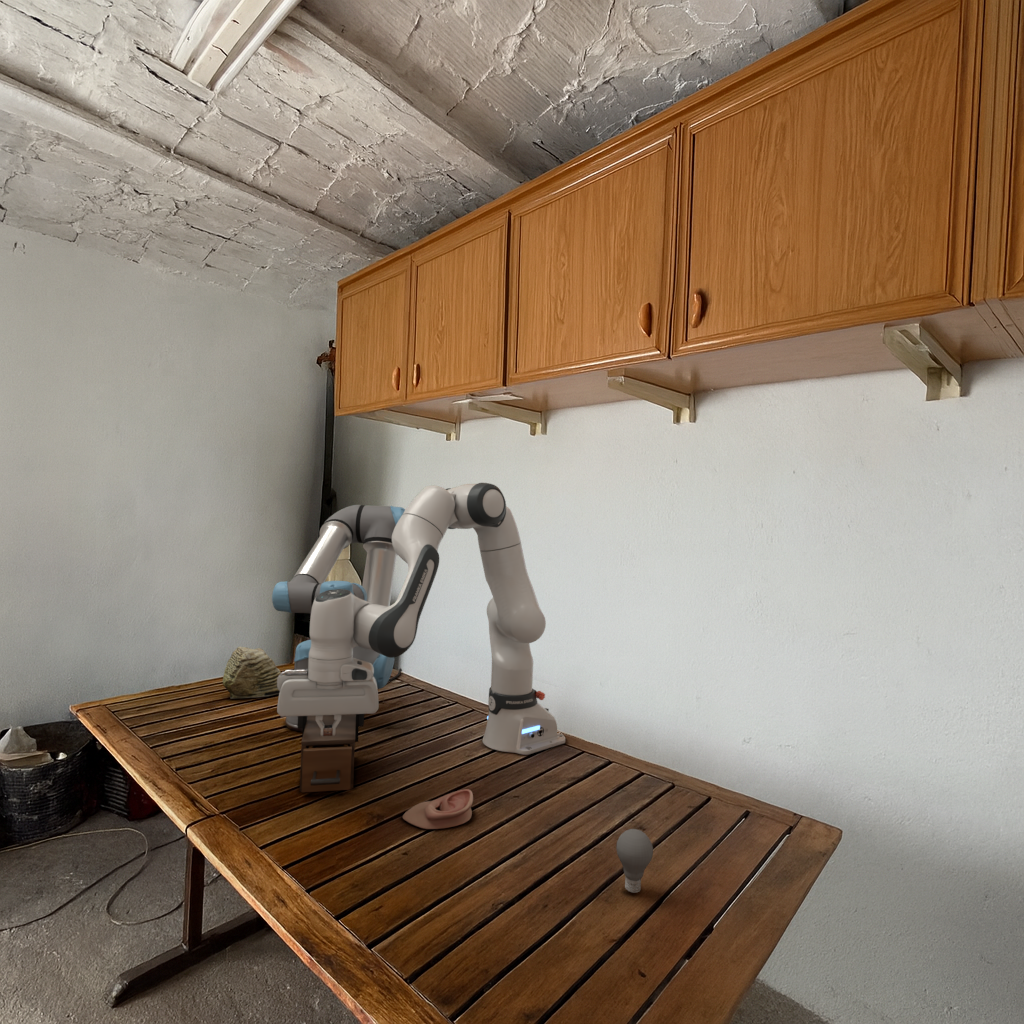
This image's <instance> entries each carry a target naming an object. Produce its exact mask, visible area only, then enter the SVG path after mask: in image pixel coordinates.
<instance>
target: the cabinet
mask: <svg viewBox="0 0 1024 1024" xmlns="http://www.w3.org/2000/svg"><path fill="white" fill-rule="evenodd" d="M322 721H323V723H324V725H333V723H334V721H335V720H334V715H323V720H322ZM355 729H356V714H346V715H341V721H340V722H339V724H338V725H337V727H336V731H335V736H321V728H320V727H319V725H318V724H317V722H316V716H308V718H307V722H306V726H305V730H304V734H303V738H302V737H301V747H300V748H301V749H300V771H299V772H300V773H299V792H300V793H302V769H303V750H304V749H309V746H313V745H336V744H348V747H352V757H351V782H350V790H353V789H354V776H355V775H354V774H355V754H356V753H355V751H356V742H355Z"/></svg>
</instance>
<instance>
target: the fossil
mask: <svg viewBox="0 0 1024 1024" xmlns="http://www.w3.org/2000/svg"><path fill="white" fill-rule="evenodd" d="M280 673H282V672H281V669H279V668H278V667H277V665H276V663H275V662H274V660H273V659H272V658H271V657H270V656H269V655H268V654H267V653H266V652H265V650H264V649H263V648H260V647H258V648H251V647H247V646H246V647H245V646H238V647H237V648H236V649H235V650H233V651H232V653H231V656H230V657H229V659H228V660H227V663H226V666H225V668H224V671H223V675H222V676H223V677H222V685H223V687H224V688H225V690H226V691H228V693H229V698H230V699H250V698H264V697H271V696H275V695H279V694H280V691H279V690H278V688H277V678H278V676H279V674H280Z"/></svg>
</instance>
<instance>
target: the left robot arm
mask: <svg viewBox="0 0 1024 1024" xmlns="http://www.w3.org/2000/svg"><path fill="white" fill-rule="evenodd" d="M405 510H406V508H404V507H401V506H393V505H368V504H353V505H349V506H346V507H344V508H342V509H340V510H337V511H336V512H334V513H333V514H332V515H330V516H329V517H328V518H327V519H326V520H325V521H324V522H323V524H322V525H321V527H320V529H319V536H318V538H317V540H316V541H315V542H314V545H312V547H311V549H310V551H309V552H308V554H307V555H306V557H305V558H304V560H303V561H302V563H301V564H300V566H299V568H298V570H297V571H296V572H295V574H294V576H293V577H292V578H291V580H290V581H288V580H285V581H279V582H277V583H276V584H275V585H274V587H273V589H272V595H271V601H272V606H273V609H275V610H276V611H277V612H284V613H290V614H292V613H293V614H311V610H312V605H313V602H314V600H315V598H316V596H317V595H319V594H320V593H322V592H325V591H328V590H335V589H345V590H349V591H350V592H351V593H352V594H353V595H354V596H356V597H358V598H360V599H362V600H365V601H368V602H370V603H375V604H378V605H382V606H387V607H388V606H391V599H392V591H393V583H394V578H395V577H394V576H395V570H396V569H395V568H396V561H397V557H398V556H399V555H398V554H397V553H396V551H395V550H394V547H393V544H392V534H393V531H394V528H395V526H396V524H397V522H398V521H399V519H400V517H401V516H402V514H403V513H404V511H405ZM351 544H363V545H362V548H363V549H364V550H365V552H366V558H365V567H364V572H363V578H362V585H361V584H360V583H357V582H351V581H347V580H327V578H328V577H329V575H330V573H331V572H332V569H333V568H334V567H335V565H336V563H337V561H338V559H339V557H340V555H341V554H342V552H343V550H345V549H346V548H347V549H348V547H349V546H350V545H351ZM310 648H311V639H307V640H304V641H302V642H300V643H298V644H297V645H296V648H295V655H294V659H293V661H294V669H293V670H299V669H308V663H309V651H310ZM353 658H356V659H359V660H362V661H366V662H369V663H371V664H372V665H373V668H374V675H373V677H374V678H375V679H376V682H377V689H378V690H381V689H383V688H384V687H385V686H386V685H387V684H388V683H389V682H391V681H393V680H395V679H397V678H398V677H399V676H400V675H401V673H402V672H403V669H402V668H401V667H400V668H399V669H398V672H397V674H395V676H393V677H392V676H391V675H392V673H393V670H394V664H395V657H393V658H391V657H386V656H384V655H382V654H380V653H377V652H375V651H373V650H369V649H366V648H363V647H360V646H356V647H354V648H353ZM307 718H308V716H288V717H285V726H286V728H287V729H289V730H291V731H294V732H295V731H296V732H301V739H302V738H303V734H304V730H305V726H306V722H307ZM364 725H365V714H356V729H355V743H359V733H360V732H359V730H360V727H364Z"/></svg>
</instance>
